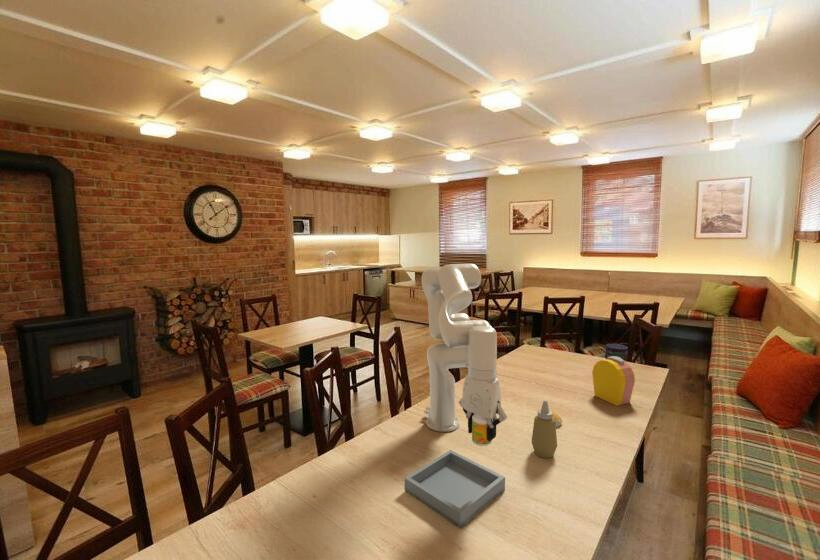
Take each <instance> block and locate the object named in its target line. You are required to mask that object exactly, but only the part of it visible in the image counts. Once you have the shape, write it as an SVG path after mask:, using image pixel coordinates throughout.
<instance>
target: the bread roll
mask: <svg viewBox="0 0 820 560" xmlns="http://www.w3.org/2000/svg"><path fill="white" fill-rule="evenodd" d="M551 411H552V412H553V418H554V419H555V423H556V428H558V427H560V426H561V425H562V423H563V419H562V417H561V416H560V415H559V414H557V413H556V412H554V411H553V410H551Z"/></svg>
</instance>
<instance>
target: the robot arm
mask: <svg viewBox="0 0 820 560" xmlns="http://www.w3.org/2000/svg"><path fill="white" fill-rule="evenodd" d="M481 273H482V272H481V271H480V268H479V267H478V266H477V265H476V264H474V263H450V264H445V265H443V266H440V267H431V268H427V269H425V270H423V272H422V274H421V286H422V290H423V293H424V295H425V298H426V301H427V309H428V313H427V315H428V327H429V334H430V336H431V338H433V339H434V340H443V341H444V342H438V343H433V344H432V345H430V346H429V347H428V348H427V351H426V359H427V363H428V372H429V405H430V406H428V405H427V406H426V407H425V409H424V411H423V412H424V414H426V415H427V416H428V417H427V419H426V421H425V423H426V427H427V428H428V429H430V430H432V431H435V432H440V433H446V432H452V431H455V430H456V429H458V428H459V427H460V420H459V418H458V417H456V380H455V377H454V375H453V374H452V373H451V371H449V369H459V368H465V369H466V370H467V374H465V377H464V381H463V386H462V397H461V399H459V401H458V404H459V405H460V407H461V408H462V411H463V412H464V414H465V418H466V419H467V430H468V431H467V432H468V434H472V416H473V415H474V414H476V415H479V416H482V417H485V418H487V420H488V424H489V426H488V427H487V441H489V442H490V441H491V440H494V439H495V438H496V436H497V425H499V424H500V423H503V422H505V420H507V419H508V416H507V414H506V412H505V411H504V409H503V407H502V396H501V394H502V393H501V386H500V382H499V378H498V377H497V364H498V363H497V362H498V361H497V360H498V359H497V358H498V357H497V356H498V349H497V348H498V347H497V346H498V332H497V331H496V329H495V328H494V327H492V325H491V324H490V322H488V321H487V320H485V319H472V320H471V318H470V316H469V315H468V314H467V313H464V312H461V311H463V310H466V309H467V308H468V307H469V306H470V305H471V303H472V302H473V293H472V291H471V290H472V289H473V290H474V289H477V288H478V287H480V285H481V282H482V274H481ZM497 415H498V416H497ZM491 442H492V441H491Z"/></svg>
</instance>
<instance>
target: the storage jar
mask: <svg viewBox="0 0 820 560" xmlns="http://www.w3.org/2000/svg"><path fill="white" fill-rule="evenodd" d="M604 355H605V359H607V357H611V356H616V357H620V358H621V359H623V360H624V361H626V362H627V359H628V346H627V345H624V344H621V343H613V342H611V343H606V344H605V354H604Z"/></svg>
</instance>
